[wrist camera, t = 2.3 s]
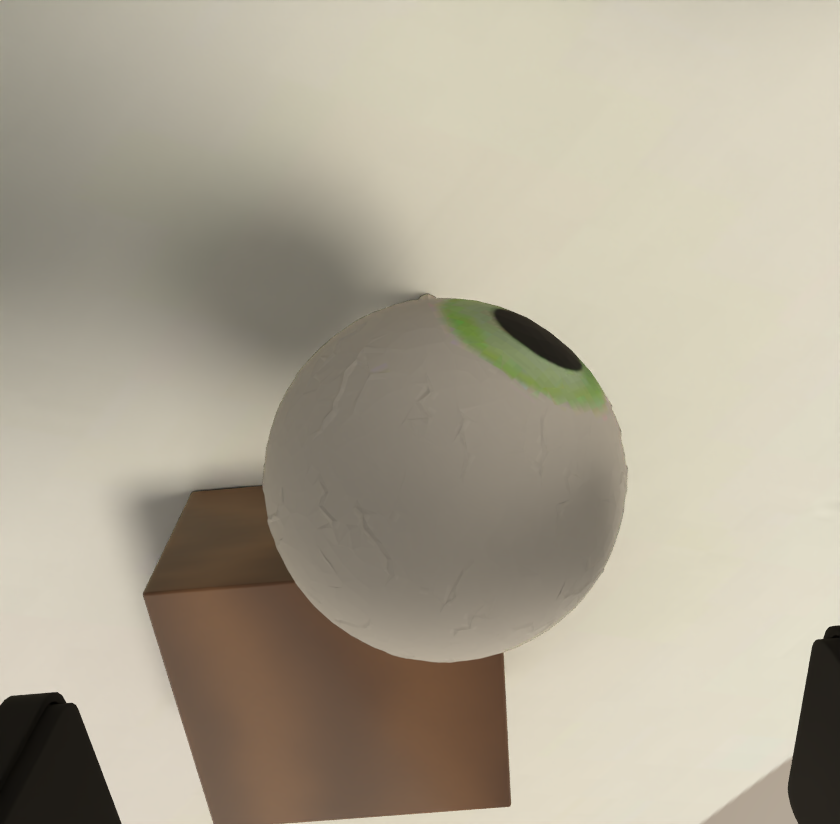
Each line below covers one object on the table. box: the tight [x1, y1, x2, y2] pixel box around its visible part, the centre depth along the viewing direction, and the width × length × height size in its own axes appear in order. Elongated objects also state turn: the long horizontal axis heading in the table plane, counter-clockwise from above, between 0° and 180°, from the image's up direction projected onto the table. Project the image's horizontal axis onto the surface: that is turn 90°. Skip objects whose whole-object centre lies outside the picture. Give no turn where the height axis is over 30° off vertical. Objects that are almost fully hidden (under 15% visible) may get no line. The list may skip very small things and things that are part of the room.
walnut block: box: [143, 486, 511, 824], centre depth 28 cm, size 11×11×6 cm
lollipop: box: [263, 294, 628, 663], centre depth 19 cm, size 7×7×15 cm
